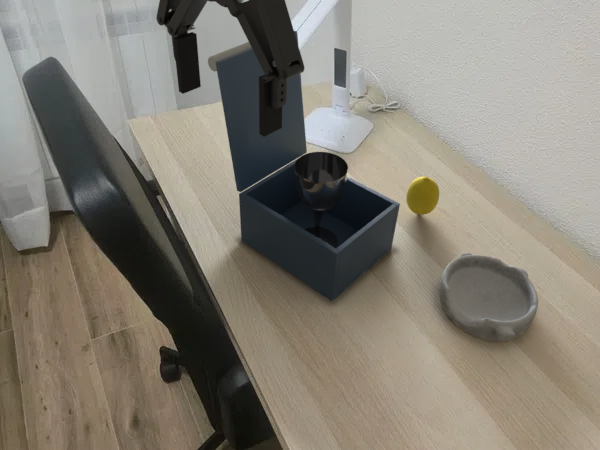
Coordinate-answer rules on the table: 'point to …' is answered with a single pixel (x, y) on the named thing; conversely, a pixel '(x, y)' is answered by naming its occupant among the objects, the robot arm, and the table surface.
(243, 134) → the lid
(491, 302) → the dish
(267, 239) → the chest
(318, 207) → the wine glass
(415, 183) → the lemon
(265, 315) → the table surface
